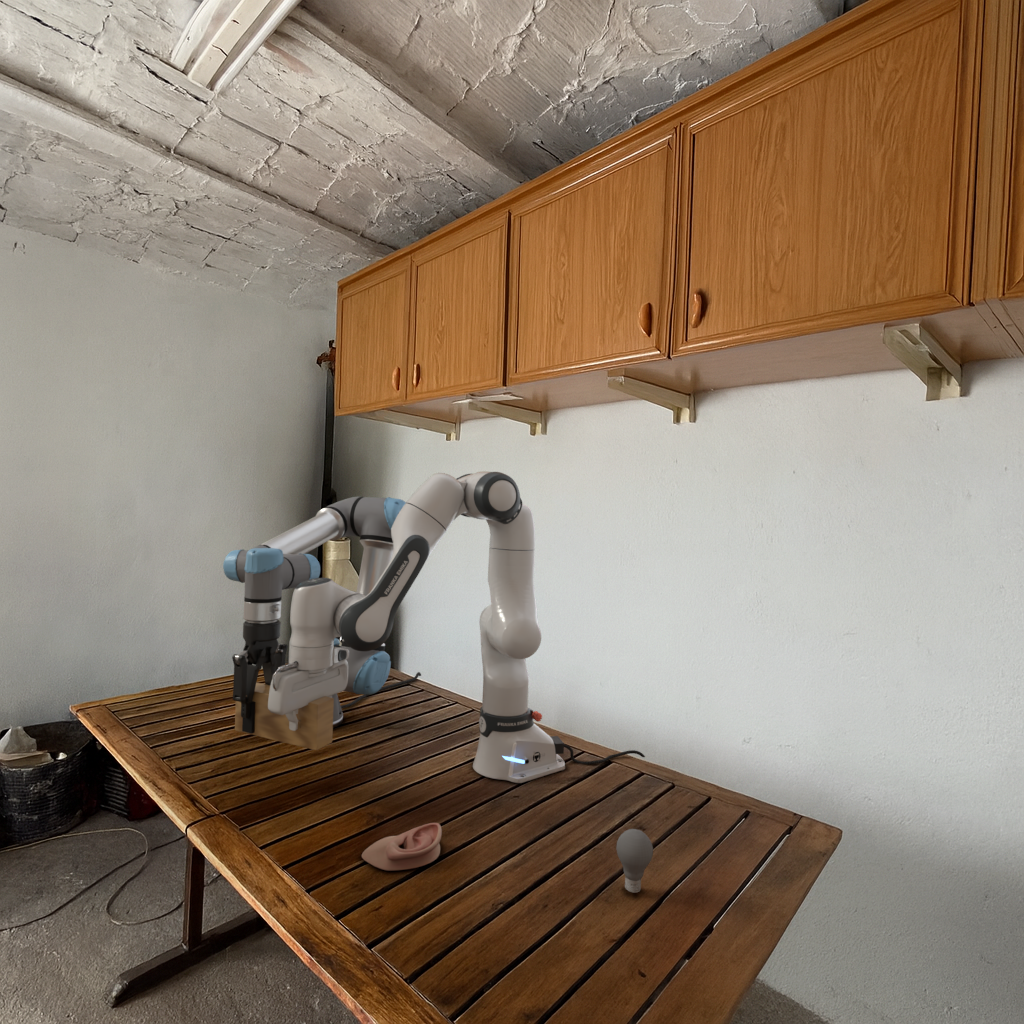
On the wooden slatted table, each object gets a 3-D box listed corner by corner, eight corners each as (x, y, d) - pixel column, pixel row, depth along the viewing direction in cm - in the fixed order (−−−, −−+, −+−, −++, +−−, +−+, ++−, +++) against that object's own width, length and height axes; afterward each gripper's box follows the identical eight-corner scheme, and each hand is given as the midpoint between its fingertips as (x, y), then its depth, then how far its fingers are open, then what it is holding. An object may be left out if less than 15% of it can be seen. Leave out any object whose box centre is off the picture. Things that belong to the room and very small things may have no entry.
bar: (234, 730, 136) (235, 687, 136) (252, 723, 141) (253, 681, 140) (316, 750, 127) (318, 704, 127) (332, 742, 132) (333, 697, 132)
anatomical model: (354, 842, 109) (381, 811, 120) (353, 865, 109) (380, 831, 121) (427, 854, 107) (448, 821, 118) (426, 877, 107) (447, 842, 118)
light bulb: (610, 879, 108) (613, 822, 108) (644, 879, 109) (647, 822, 109) (619, 902, 102) (622, 840, 102) (655, 901, 103) (658, 840, 103)
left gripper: (242, 629, 126) (238, 745, 127) (305, 615, 143) (301, 718, 143) (214, 625, 129) (211, 737, 130) (279, 612, 146) (276, 712, 146)
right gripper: (286, 670, 120) (283, 742, 120) (354, 649, 139) (351, 711, 139) (261, 665, 123) (258, 736, 123) (331, 645, 141) (329, 706, 142)
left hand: (258, 727), depth 137 cm, fingers closed on bar, 5 cm apart
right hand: (308, 723), depth 131 cm, fingers open, 7 cm apart
